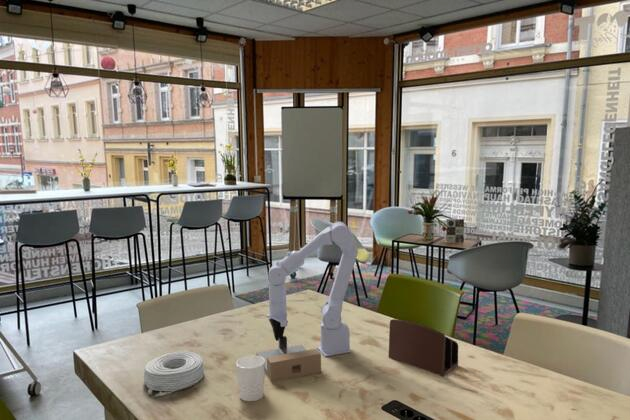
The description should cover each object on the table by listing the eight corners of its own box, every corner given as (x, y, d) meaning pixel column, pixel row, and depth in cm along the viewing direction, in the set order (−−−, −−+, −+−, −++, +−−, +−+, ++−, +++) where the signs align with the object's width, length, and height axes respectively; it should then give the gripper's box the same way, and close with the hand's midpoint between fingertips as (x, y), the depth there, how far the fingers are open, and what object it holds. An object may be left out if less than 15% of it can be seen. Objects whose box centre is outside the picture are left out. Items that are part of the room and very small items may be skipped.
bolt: (278, 351, 150) (277, 336, 150) (285, 350, 151) (284, 335, 150) (287, 364, 141) (286, 348, 140) (294, 363, 142) (294, 347, 141)
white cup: (260, 404, 122) (259, 369, 121) (233, 401, 124) (231, 366, 122) (269, 389, 130) (268, 356, 128) (243, 386, 131) (242, 354, 130)
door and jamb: (256, 356, 150) (256, 339, 150) (301, 348, 156) (301, 332, 155) (270, 382, 134) (270, 362, 133) (321, 372, 139) (320, 353, 139)
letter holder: (443, 377, 135) (444, 332, 134) (387, 357, 149) (388, 316, 147) (458, 365, 143) (459, 323, 141) (404, 348, 156) (404, 308, 154)
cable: (150, 401, 125) (149, 380, 124) (138, 375, 139) (137, 357, 139) (212, 384, 134) (211, 364, 133) (194, 361, 148) (193, 343, 148)
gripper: (260, 296, 157) (261, 333, 159) (271, 309, 144) (273, 349, 145) (280, 293, 160) (281, 330, 161) (293, 306, 146) (293, 346, 148)
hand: (278, 339), depth 153 cm, fingers closed
